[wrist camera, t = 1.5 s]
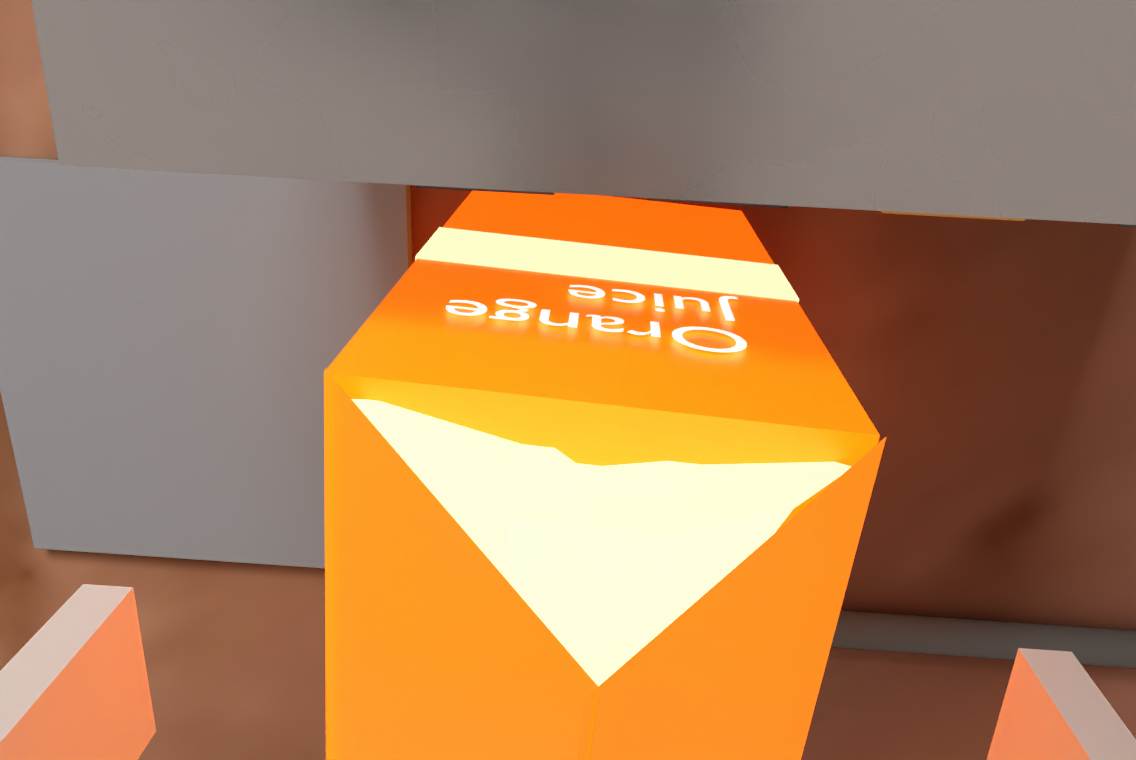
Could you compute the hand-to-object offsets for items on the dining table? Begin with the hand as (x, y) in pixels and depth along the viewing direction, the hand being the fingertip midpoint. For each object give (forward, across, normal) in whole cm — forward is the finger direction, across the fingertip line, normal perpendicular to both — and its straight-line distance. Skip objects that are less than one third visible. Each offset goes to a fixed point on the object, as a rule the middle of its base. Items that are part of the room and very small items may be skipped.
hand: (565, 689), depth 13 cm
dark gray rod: (+15, +13, -9) cm, 22 cm away
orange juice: (+15, 0, 0) cm, 15 cm away
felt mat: (+15, -12, -2) cm, 19 cm away
